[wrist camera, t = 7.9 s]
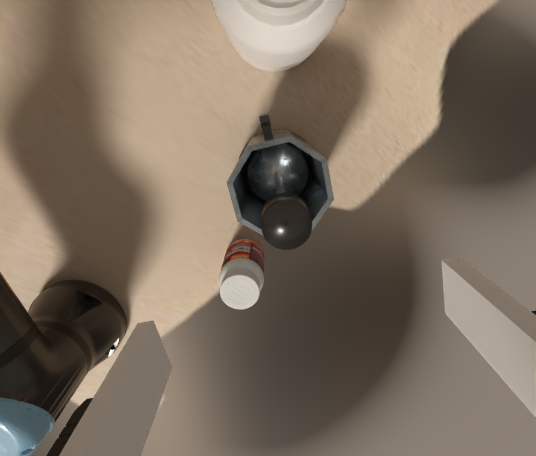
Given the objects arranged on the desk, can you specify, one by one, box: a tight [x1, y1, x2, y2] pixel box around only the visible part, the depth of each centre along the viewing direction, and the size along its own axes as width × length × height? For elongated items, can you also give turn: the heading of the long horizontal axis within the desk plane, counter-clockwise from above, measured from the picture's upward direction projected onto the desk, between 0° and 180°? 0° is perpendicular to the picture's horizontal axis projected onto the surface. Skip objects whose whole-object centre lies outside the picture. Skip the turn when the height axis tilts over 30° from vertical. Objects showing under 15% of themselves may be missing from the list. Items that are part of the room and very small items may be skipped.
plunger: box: [248, 143, 312, 250], centre depth 38 cm, size 8×8×23 cm
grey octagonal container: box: [227, 113, 334, 236], centre depth 43 cm, size 12×14×12 cm
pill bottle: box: [219, 239, 264, 309], centre depth 49 cm, size 6×6×11 cm
